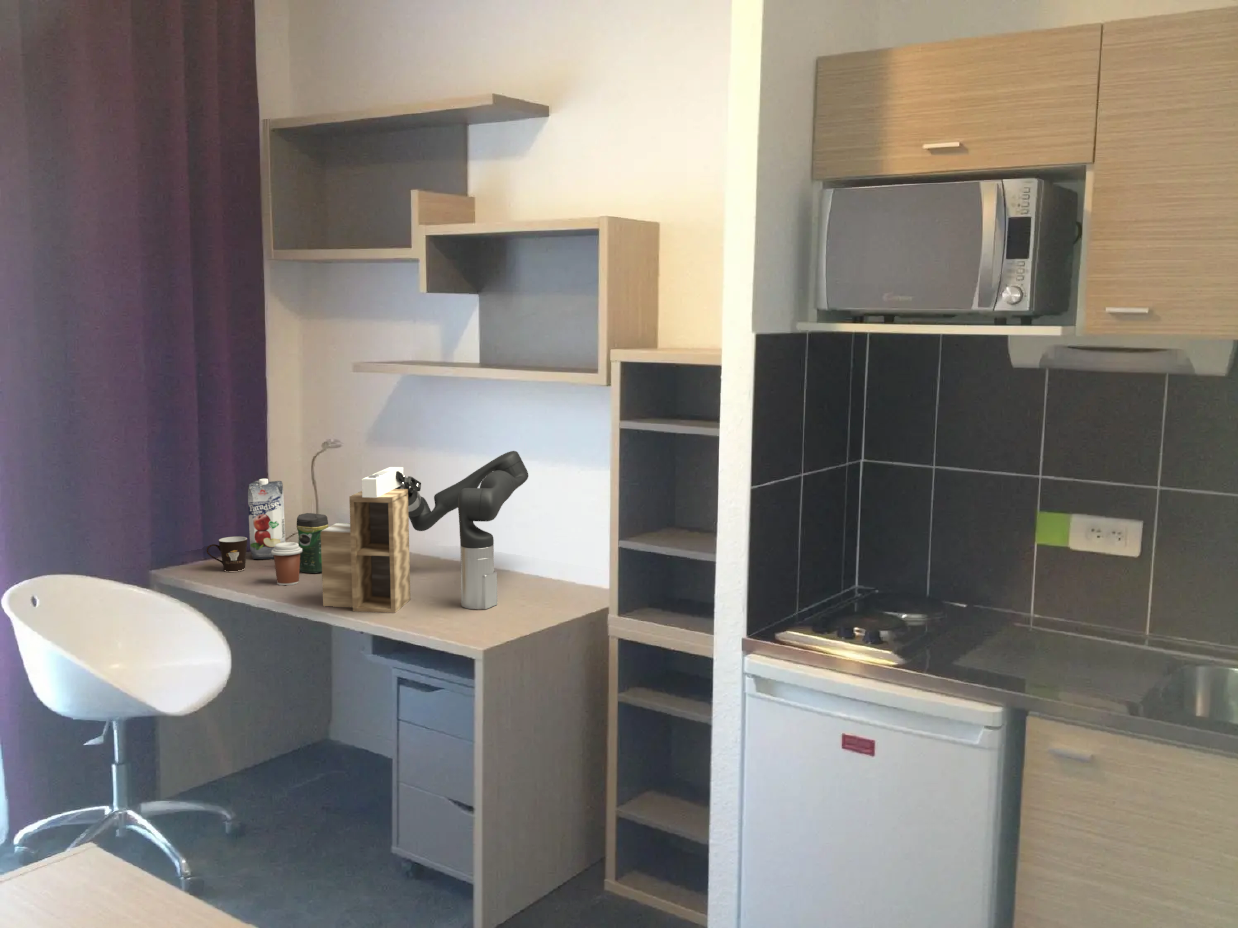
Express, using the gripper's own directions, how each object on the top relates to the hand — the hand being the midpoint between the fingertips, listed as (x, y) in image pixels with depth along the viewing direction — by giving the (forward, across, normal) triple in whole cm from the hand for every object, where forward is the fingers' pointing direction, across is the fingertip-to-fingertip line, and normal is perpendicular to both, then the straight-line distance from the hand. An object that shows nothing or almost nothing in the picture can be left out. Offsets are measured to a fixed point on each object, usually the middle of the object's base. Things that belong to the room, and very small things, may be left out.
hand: (389, 474), depth 308 cm
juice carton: (-58, -58, +8) cm, 82 cm away
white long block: (+2, 0, +6) cm, 6 cm away
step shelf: (-11, -5, +35) cm, 37 cm away
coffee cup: (-29, -37, +25) cm, 53 cm away
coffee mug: (-42, -62, +18) cm, 77 cm away
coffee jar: (-43, -35, +17) cm, 58 cm away
